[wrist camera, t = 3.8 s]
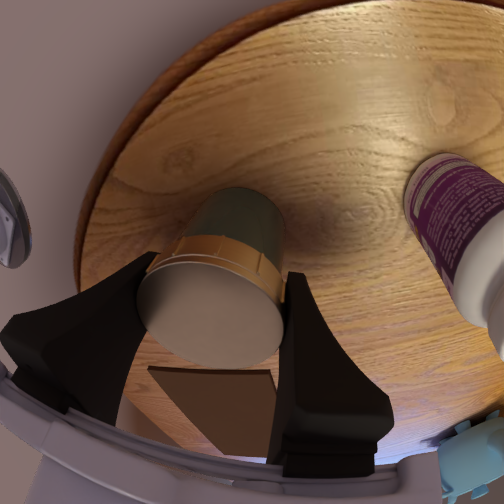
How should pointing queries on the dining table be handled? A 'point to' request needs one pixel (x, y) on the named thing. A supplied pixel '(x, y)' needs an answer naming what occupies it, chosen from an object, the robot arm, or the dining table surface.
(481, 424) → the teapot
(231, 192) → the jar
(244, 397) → the mat
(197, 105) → the dining table surface
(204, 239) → the jar lid
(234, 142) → the dining table surface
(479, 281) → the pill bottle
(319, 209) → the dining table surface
